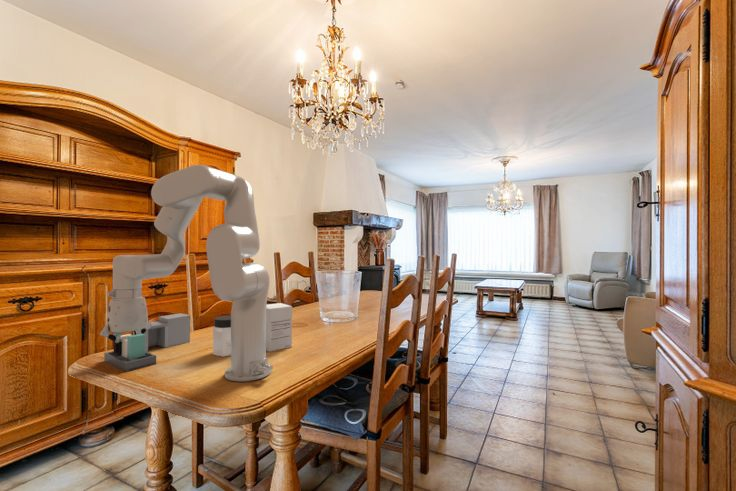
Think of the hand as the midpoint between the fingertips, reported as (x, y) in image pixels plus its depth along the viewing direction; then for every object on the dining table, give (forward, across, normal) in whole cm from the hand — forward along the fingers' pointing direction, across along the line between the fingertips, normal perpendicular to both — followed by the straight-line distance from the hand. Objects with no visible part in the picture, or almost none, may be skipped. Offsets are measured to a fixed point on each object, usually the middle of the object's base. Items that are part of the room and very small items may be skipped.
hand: (127, 351), depth 108 cm
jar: (+3, +23, -18) cm, 29 cm away
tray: (+3, 0, -2) cm, 4 cm away
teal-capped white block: (0, 0, -1) cm, 1 cm away
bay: (+3, +15, +8) cm, 17 cm away
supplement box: (+3, +37, -26) cm, 45 cm away
